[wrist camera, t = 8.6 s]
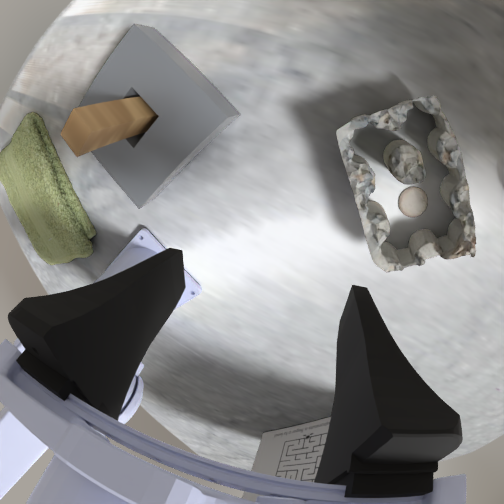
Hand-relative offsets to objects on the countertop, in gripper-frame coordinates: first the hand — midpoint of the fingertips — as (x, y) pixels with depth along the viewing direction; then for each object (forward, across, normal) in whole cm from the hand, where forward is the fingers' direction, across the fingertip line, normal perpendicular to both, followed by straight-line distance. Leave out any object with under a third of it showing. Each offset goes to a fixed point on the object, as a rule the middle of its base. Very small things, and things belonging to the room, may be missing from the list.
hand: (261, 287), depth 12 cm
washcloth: (+11, +28, +2) cm, 30 cm away
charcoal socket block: (+10, +11, -6) cm, 16 cm away
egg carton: (+10, -7, -3) cm, 13 cm away
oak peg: (+10, +11, -6) cm, 16 cm away
